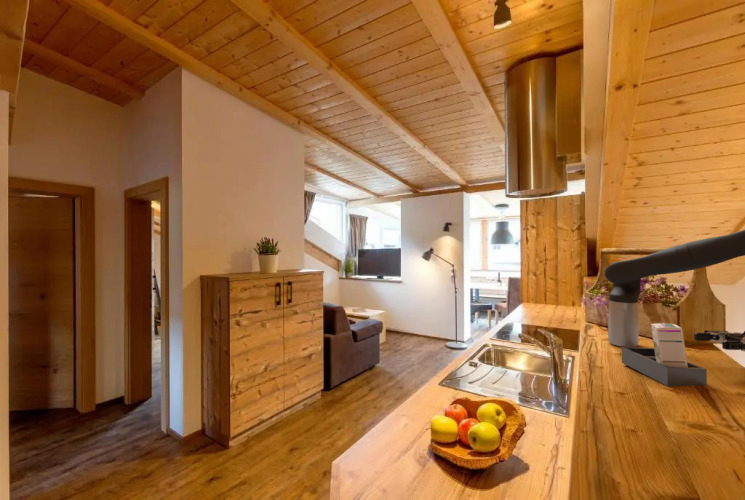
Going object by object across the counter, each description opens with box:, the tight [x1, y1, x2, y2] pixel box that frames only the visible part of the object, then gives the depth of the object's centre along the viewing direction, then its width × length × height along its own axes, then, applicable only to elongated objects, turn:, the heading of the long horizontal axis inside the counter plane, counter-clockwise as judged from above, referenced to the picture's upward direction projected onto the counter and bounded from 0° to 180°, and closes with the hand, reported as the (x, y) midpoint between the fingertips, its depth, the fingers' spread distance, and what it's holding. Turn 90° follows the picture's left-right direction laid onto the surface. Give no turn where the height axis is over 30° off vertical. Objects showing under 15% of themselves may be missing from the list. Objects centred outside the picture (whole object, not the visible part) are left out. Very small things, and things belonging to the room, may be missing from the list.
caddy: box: [621, 346, 708, 387], centre depth 95 cm, size 18×10×5 cm, turn 174°
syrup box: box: [650, 322, 688, 368], centre depth 91 cm, size 6×6×14 cm
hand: (708, 340), depth 90 cm, fingers open, 8 cm apart
